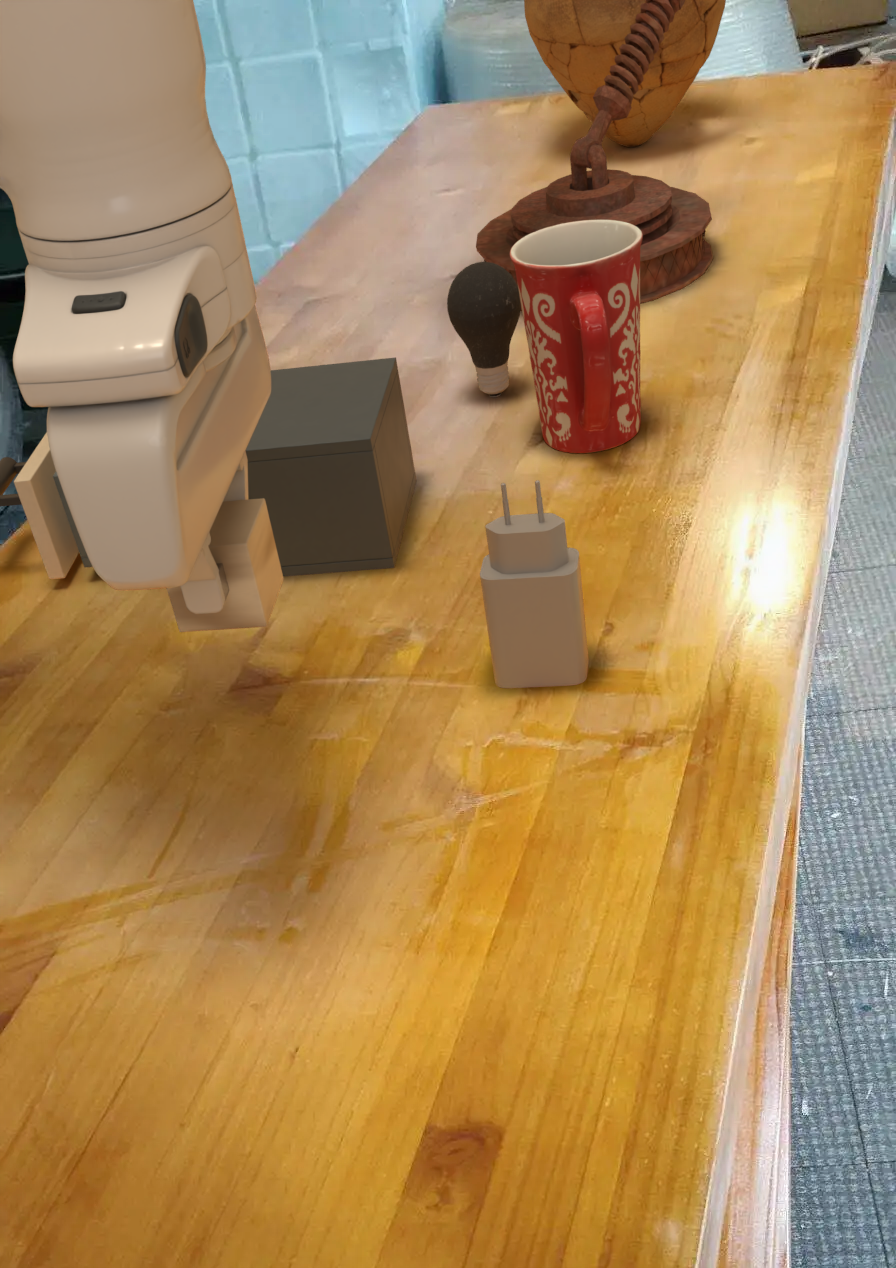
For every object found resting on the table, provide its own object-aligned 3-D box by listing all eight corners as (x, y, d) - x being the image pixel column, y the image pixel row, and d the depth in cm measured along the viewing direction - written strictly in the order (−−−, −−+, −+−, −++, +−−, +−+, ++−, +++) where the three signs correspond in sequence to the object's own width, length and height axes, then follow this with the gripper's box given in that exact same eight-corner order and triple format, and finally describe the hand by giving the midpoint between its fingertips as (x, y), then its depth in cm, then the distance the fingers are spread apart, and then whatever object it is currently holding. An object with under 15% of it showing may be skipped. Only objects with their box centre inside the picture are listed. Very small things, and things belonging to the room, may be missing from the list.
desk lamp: (374, 318, 132) (274, -252, 104) (620, 202, 145) (589, -332, 117) (536, 365, 119) (471, -270, 92) (790, 233, 132) (799, -357, 105)
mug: (526, 415, 112) (506, 229, 103) (644, 398, 112) (635, 209, 102) (536, 490, 103) (514, 294, 94) (664, 472, 102) (656, 272, 93)
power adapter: (586, 685, 85) (568, 492, 77) (493, 689, 86) (466, 499, 78) (589, 656, 87) (572, 464, 79) (499, 660, 88) (473, 472, 80)
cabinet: (186, 585, 101) (149, 459, 94) (225, 498, 109) (193, 378, 103) (394, 568, 98) (370, 438, 92) (416, 481, 107) (396, 357, 101)
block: (179, 632, 70) (154, 550, 67) (199, 585, 74) (176, 504, 71) (267, 627, 70) (246, 543, 67) (284, 579, 73) (265, 497, 70)
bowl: (520, 140, 165) (499, -73, 151) (694, 103, 165) (689, -112, 152) (564, 192, 149) (545, -40, 136) (756, 151, 150) (756, -83, 136)
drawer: (-17, 585, 103) (-56, 487, 98) (32, 507, 111) (-1, 413, 106) (234, 564, 100) (207, 463, 95) (266, 486, 108) (243, 389, 103)
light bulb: (450, 411, 115) (431, 279, 108) (472, 380, 119) (455, 251, 112) (519, 411, 113) (503, 277, 106) (539, 380, 117) (525, 248, 110)
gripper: (136, 201, 69) (207, 478, 78) (-4, 385, 54) (104, 697, 64) (265, 187, 68) (322, 469, 77) (157, 371, 53) (244, 690, 63)
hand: (223, 574), depth 70 cm, fingers closed on block, 4 cm apart
